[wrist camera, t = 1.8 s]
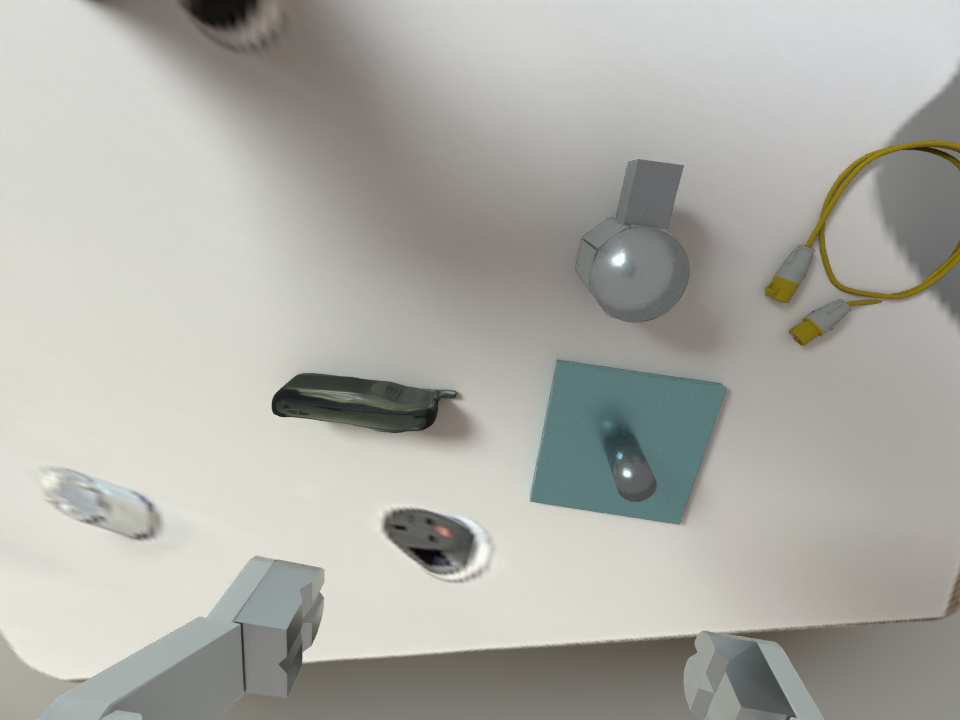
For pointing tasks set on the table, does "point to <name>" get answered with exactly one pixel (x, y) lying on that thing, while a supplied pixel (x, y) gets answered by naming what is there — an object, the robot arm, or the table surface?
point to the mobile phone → (359, 402)
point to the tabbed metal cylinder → (637, 248)
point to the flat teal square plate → (623, 441)
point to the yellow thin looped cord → (801, 257)
